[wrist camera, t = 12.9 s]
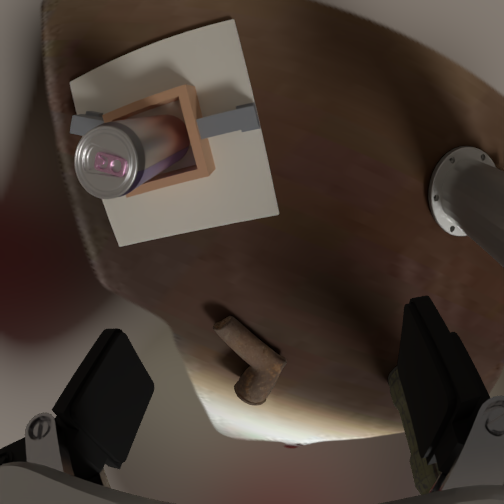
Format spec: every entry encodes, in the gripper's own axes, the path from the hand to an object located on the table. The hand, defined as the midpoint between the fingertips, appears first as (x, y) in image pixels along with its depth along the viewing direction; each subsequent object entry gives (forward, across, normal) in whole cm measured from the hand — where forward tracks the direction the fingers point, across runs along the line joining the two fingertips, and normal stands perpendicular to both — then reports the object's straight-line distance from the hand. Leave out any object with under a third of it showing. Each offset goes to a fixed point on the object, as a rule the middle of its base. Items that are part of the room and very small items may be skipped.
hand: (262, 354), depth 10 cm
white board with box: (+28, +12, -7) cm, 32 cm away
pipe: (+29, +10, +28) cm, 41 cm away
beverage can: (+28, +12, -6) cm, 31 cm away
